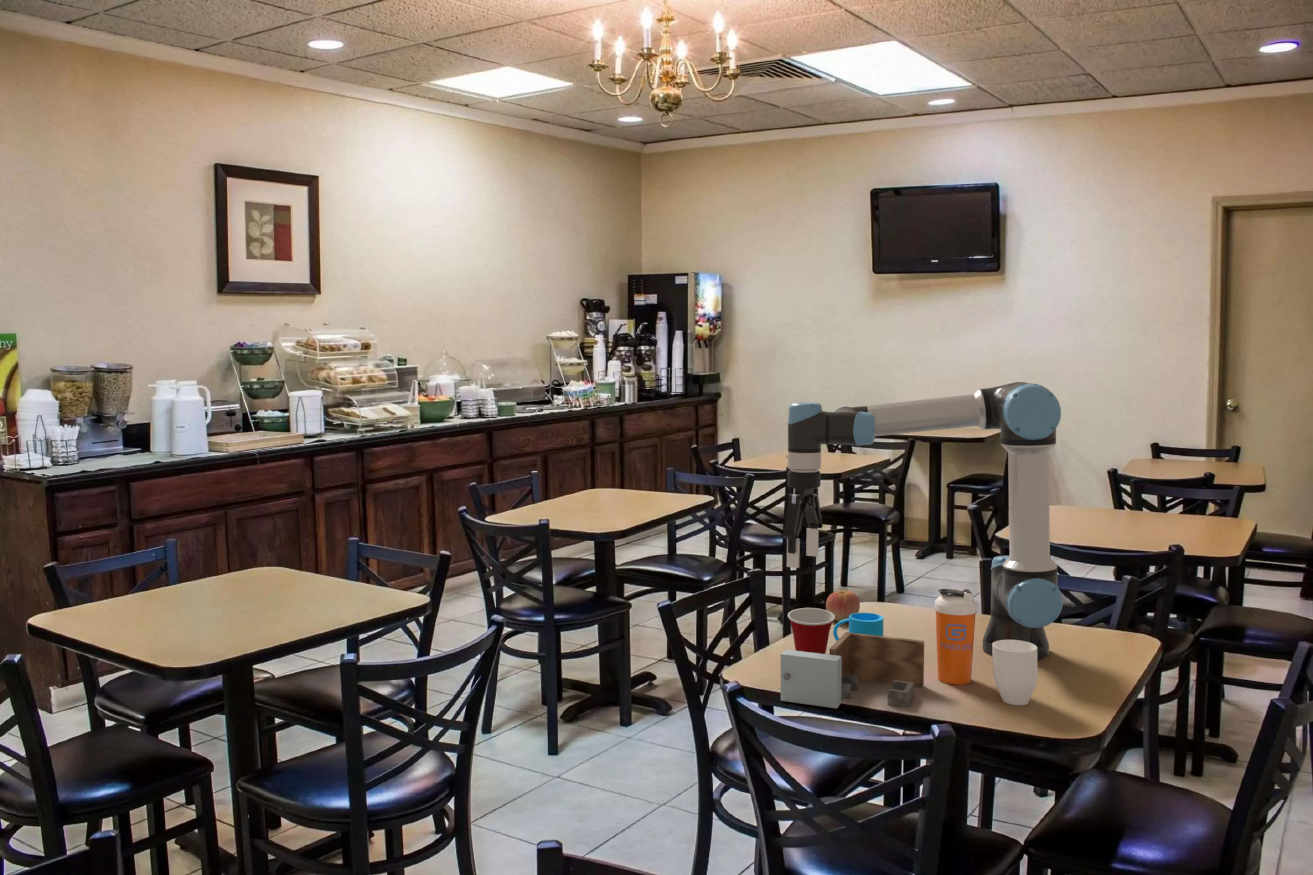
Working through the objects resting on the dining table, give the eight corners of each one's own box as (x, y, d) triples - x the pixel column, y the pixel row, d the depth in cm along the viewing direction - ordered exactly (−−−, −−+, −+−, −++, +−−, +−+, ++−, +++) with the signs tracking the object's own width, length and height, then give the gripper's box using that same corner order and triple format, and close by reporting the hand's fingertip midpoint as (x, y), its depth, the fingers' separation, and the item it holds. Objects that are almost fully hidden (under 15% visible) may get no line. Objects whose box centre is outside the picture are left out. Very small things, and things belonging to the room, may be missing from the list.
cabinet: (923, 685, 229) (924, 640, 228) (910, 707, 216) (910, 659, 215) (845, 675, 236) (845, 632, 235) (827, 696, 223) (828, 649, 222)
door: (841, 703, 219) (841, 655, 218) (835, 710, 215) (835, 662, 214) (785, 695, 224) (785, 649, 223) (779, 702, 220) (779, 655, 219)
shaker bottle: (929, 672, 237) (930, 585, 236) (969, 672, 237) (971, 585, 235) (938, 686, 229) (940, 595, 227) (980, 686, 228) (982, 595, 226)
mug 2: (1042, 708, 214) (1042, 651, 213) (997, 709, 215) (997, 651, 214) (1028, 689, 226) (1027, 634, 224) (985, 689, 226) (985, 635, 225)
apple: (859, 625, 277) (860, 595, 276) (825, 624, 278) (825, 594, 278) (859, 616, 285) (859, 587, 285) (826, 615, 287) (826, 586, 286)
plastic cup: (790, 672, 239) (790, 620, 238) (784, 657, 250) (784, 607, 249) (838, 671, 239) (838, 619, 238) (830, 657, 250) (831, 607, 249)
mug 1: (883, 646, 258) (884, 613, 258) (882, 655, 251) (882, 622, 250) (834, 643, 261) (834, 610, 261) (831, 652, 253) (831, 619, 253)
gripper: (806, 463, 255) (804, 549, 257) (769, 475, 232) (768, 570, 234) (836, 464, 251) (834, 552, 253) (801, 477, 229) (800, 573, 231)
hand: (802, 561), depth 244 cm, fingers open, 13 cm apart
